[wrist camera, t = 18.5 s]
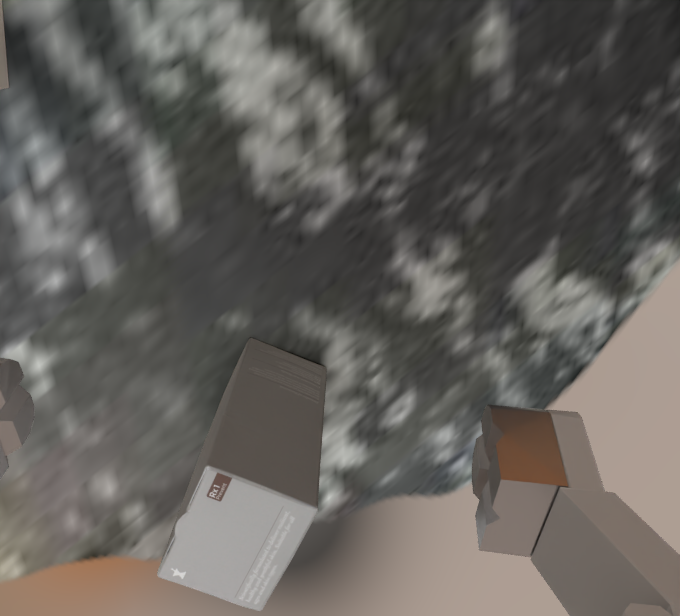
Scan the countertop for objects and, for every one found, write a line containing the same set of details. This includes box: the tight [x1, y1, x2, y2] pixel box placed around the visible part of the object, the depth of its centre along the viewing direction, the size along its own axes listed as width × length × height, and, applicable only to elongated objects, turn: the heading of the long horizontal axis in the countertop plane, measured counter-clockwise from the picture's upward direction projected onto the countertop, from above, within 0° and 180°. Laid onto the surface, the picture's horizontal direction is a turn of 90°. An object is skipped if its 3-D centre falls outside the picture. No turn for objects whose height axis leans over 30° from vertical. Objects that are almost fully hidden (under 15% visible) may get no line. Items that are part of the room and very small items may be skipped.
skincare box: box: [158, 338, 327, 611], centre depth 40 cm, size 8×7×16 cm
